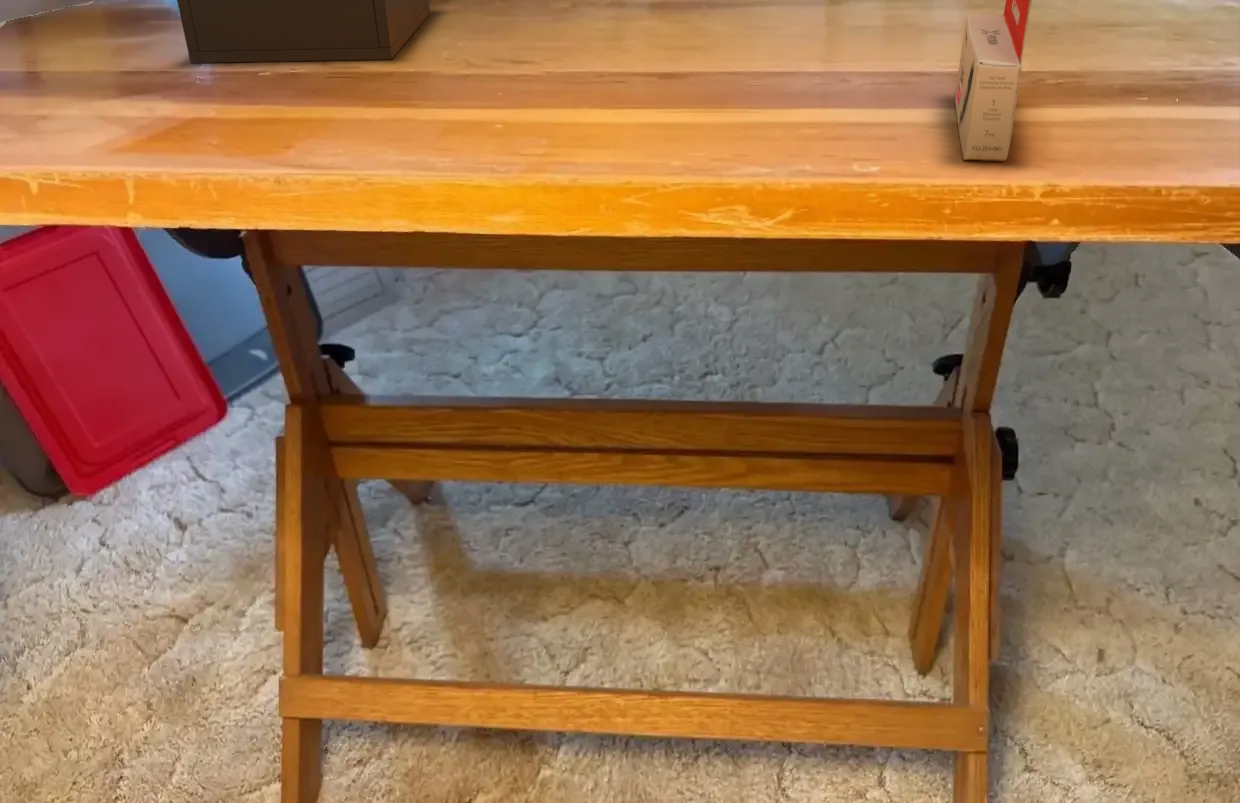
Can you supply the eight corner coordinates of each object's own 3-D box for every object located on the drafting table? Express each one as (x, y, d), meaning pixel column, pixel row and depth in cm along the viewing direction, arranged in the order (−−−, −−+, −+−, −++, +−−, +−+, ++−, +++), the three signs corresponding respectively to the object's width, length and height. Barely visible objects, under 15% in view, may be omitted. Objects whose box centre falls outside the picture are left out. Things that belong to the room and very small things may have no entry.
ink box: (962, 162, 59) (987, -36, 55) (953, 100, 69) (974, -73, 64) (1011, 164, 59) (1040, -35, 54) (996, 101, 68) (1020, -73, 63)
